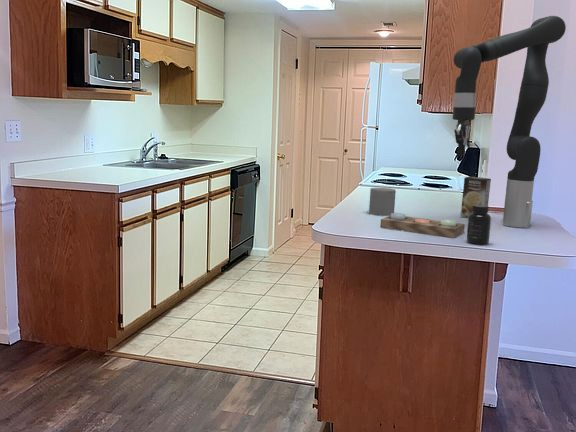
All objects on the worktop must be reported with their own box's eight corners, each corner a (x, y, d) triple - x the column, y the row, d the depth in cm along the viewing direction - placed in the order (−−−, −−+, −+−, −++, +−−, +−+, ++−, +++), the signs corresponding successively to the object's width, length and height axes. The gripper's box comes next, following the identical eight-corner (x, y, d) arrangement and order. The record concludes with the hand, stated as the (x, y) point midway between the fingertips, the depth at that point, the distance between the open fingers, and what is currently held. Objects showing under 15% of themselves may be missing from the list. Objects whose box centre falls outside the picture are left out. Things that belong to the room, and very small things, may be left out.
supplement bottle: (471, 239, 189) (474, 203, 187) (492, 243, 184) (495, 205, 182) (462, 242, 183) (466, 205, 181) (483, 246, 179) (487, 208, 177)
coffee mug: (396, 216, 227) (398, 191, 225) (371, 215, 227) (372, 190, 225) (389, 210, 240) (391, 186, 238) (365, 209, 240) (367, 186, 238)
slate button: (406, 222, 207) (407, 214, 206) (401, 224, 202) (402, 215, 202) (393, 220, 209) (394, 212, 209) (388, 222, 205) (388, 214, 204)
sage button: (457, 229, 197) (457, 220, 197) (453, 231, 193) (453, 222, 193) (442, 227, 200) (443, 218, 199) (438, 229, 196) (439, 220, 195)
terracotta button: (431, 228, 202) (431, 220, 202) (426, 230, 198) (427, 222, 197) (417, 226, 205) (418, 218, 204) (412, 228, 200) (413, 220, 200)
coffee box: (459, 217, 230) (463, 177, 227) (464, 215, 235) (468, 176, 232) (482, 220, 225) (486, 179, 222) (487, 218, 230) (491, 178, 227)
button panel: (463, 232, 200) (464, 223, 199) (454, 238, 190) (454, 229, 189) (393, 222, 213) (393, 214, 213) (380, 227, 203) (380, 219, 202)
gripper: (470, 106, 197) (466, 157, 200) (479, 106, 208) (476, 154, 211) (448, 106, 201) (445, 156, 204) (458, 106, 212) (455, 153, 215)
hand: (461, 155), depth 208 cm, fingers closed
